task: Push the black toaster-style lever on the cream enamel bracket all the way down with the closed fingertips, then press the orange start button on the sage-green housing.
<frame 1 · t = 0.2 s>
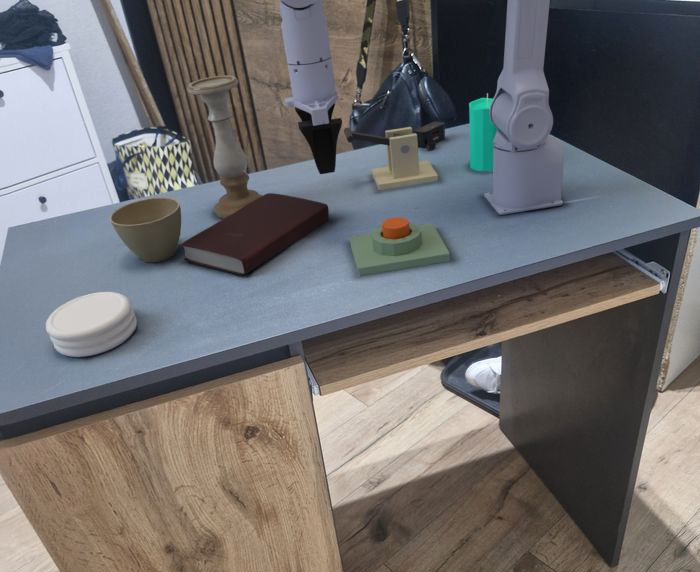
hand: (324, 163, 90), 10 cm above the table, tool pointing down, fingers open, 7 cm apart
candle holder: (241, 210, 107), on the table
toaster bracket: (404, 178, 109), on the table
start button: (395, 228, 85), point 3 cm above the table, slide at 0.1 cm
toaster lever: (377, 139, 105), point 7 cm above the table, hinge at 18.0°
candle: (487, 167, 110), on the table
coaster: (97, 336, 79), on the table
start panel: (397, 252, 87), on the table
book: (259, 242, 96), on the table
flower pot: (159, 256, 96), on the table
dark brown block: (430, 146, 122), on the table
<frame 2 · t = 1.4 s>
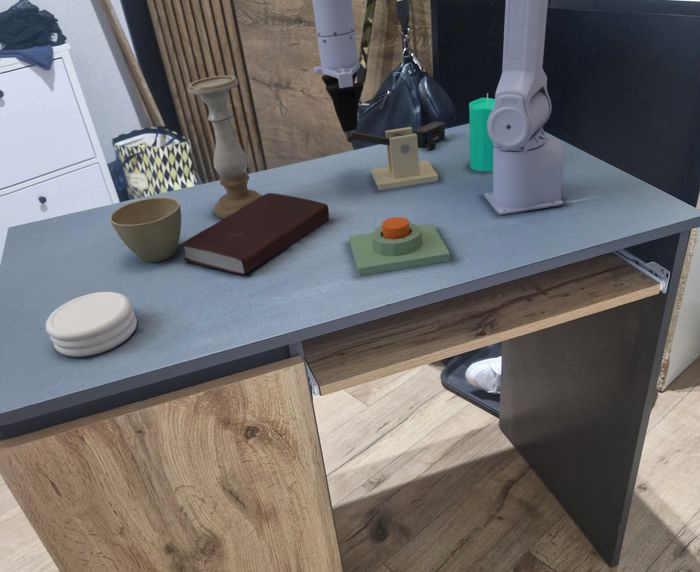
hand: (347, 124, 103), 10 cm above the table, tool pointing down, fingers open, 6 cm apart
nothing on the table moved.
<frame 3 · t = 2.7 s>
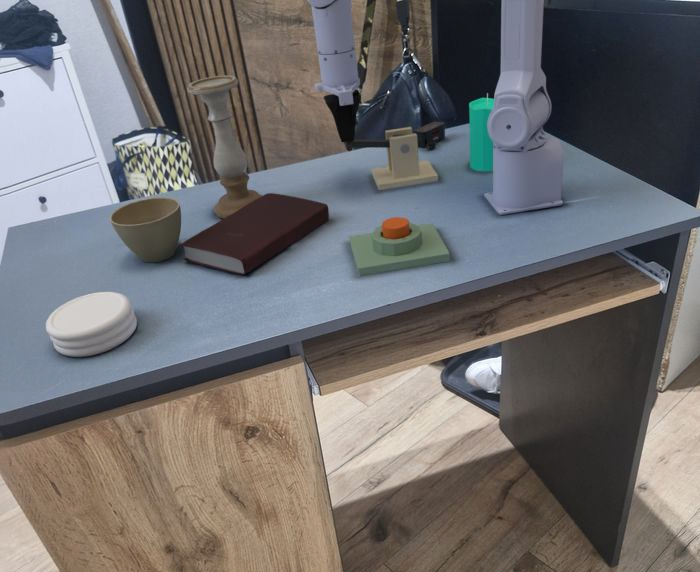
hand: (347, 140, 105), 8 cm above the table, tool pointing down, fingers closed, pressing on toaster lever
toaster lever: (377, 143, 105), point 7 cm above the table, hinge at 9.2°, touching gripper
everything else where it was.
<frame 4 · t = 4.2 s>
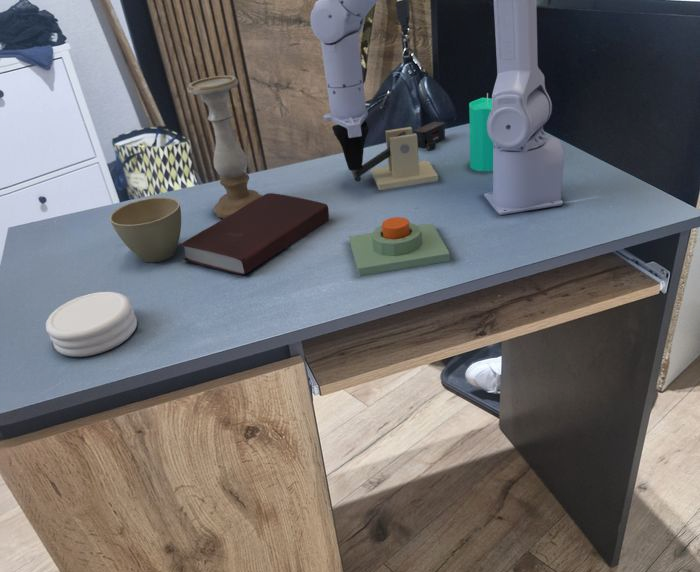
hand: (355, 168, 107), 3 cm above the table, tool pointing down, fingers closed, pressing on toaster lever
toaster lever: (380, 157, 107), point 4 cm above the table, hinge at -25.3°, touching gripper
everything else where it was.
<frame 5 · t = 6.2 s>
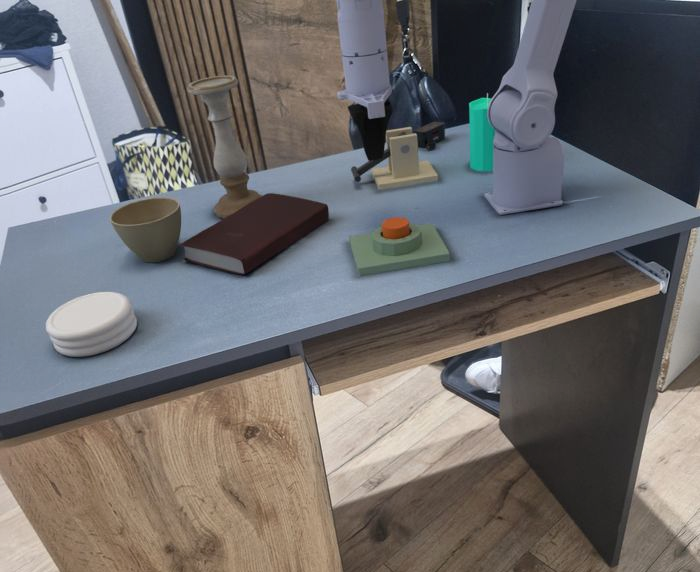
hand: (375, 158, 88), 10 cm above the table, tool pointing down, fingers closed
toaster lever: (380, 157, 107), point 4 cm above the table, hinge at -25.3°
everything else where it was.
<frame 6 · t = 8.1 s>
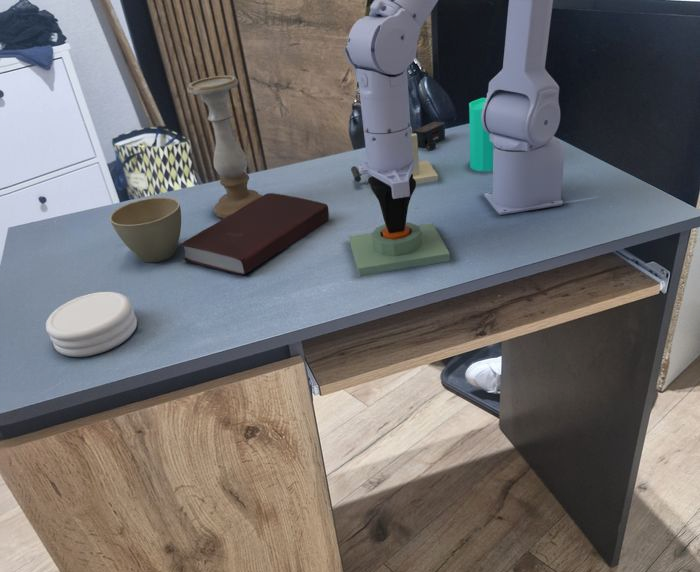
hand: (395, 230, 85), 3 cm above the table, tool pointing down, fingers closed, pressing on start button
start button: (396, 236, 86), point 2 cm above the table, slide at -0.9 cm, touching gripper
everything else where it was.
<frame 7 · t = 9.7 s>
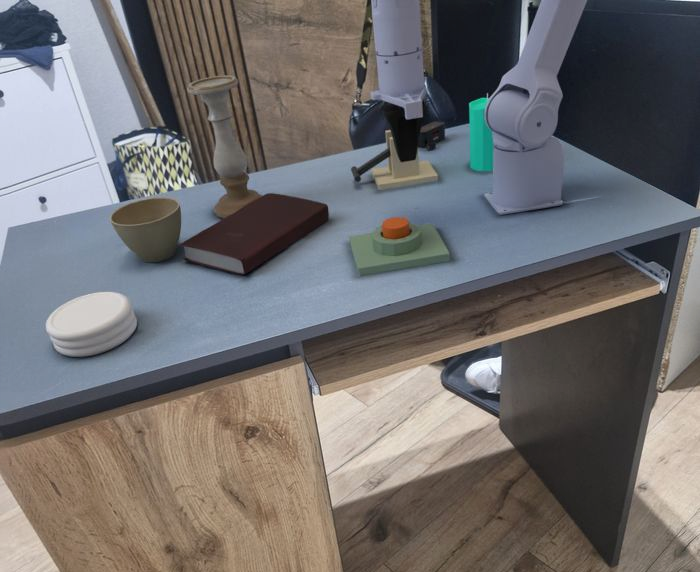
hand: (407, 159, 86), 10 cm above the table, tool pointing down, fingers closed
start button: (395, 228, 85), point 3 cm above the table, slide at 0.1 cm
everything else where it was.
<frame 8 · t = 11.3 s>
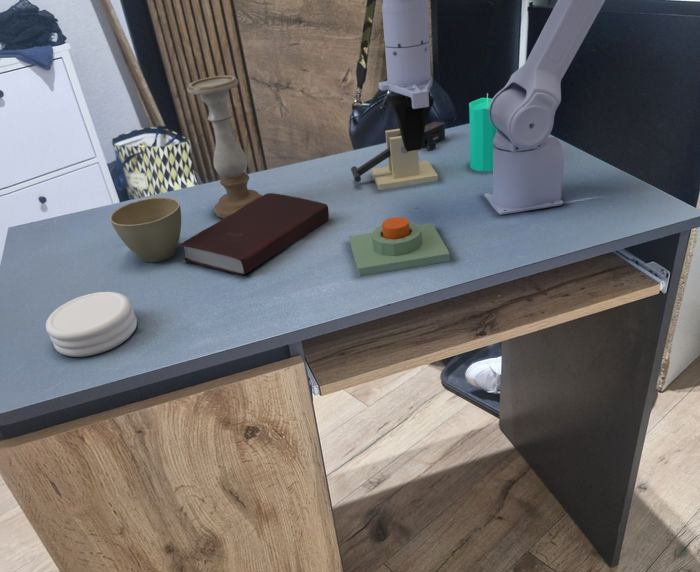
hand: (413, 149, 89), 10 cm above the table, tool pointing down, fingers closed
nothing on the table moved.
at the end: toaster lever at -25° (first picture: +18°); start button pushed in 1.2 cm at the most during the clip, back to where it started at the end; start button slide at 0.1 cm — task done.
